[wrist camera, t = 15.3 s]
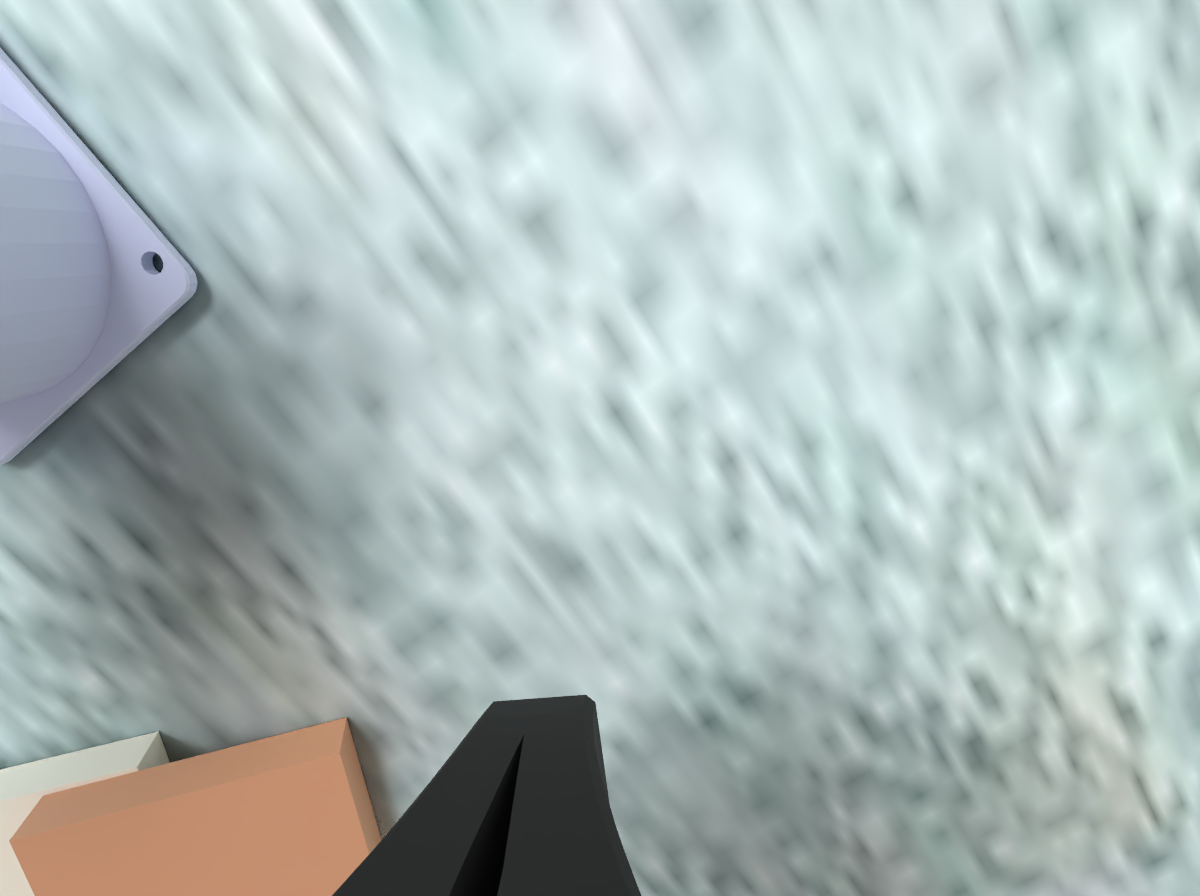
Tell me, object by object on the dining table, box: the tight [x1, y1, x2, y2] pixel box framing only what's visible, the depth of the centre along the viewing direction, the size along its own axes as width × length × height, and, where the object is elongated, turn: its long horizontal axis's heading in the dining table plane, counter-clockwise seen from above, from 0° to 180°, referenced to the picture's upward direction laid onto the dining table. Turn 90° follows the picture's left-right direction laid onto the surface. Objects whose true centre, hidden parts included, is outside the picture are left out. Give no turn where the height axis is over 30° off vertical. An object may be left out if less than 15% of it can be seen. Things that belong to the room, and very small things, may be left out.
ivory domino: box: [0, 731, 170, 896], centre depth 20 cm, size 2×4×8 cm
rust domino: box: [9, 717, 382, 896], centre depth 19 cm, size 2×4×8 cm
